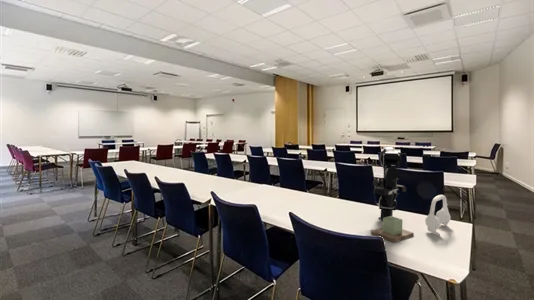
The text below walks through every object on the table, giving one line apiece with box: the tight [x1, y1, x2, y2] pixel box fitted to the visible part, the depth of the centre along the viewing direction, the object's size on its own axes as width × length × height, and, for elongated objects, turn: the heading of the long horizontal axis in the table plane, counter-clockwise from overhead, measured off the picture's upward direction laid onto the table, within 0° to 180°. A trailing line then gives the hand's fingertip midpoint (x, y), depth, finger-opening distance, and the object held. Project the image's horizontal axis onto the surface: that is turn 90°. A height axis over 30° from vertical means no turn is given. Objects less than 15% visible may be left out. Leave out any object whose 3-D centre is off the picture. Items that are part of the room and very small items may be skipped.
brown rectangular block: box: [370, 227, 415, 243], centre depth 130 cm, size 16×12×7 cm
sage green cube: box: [382, 215, 403, 235], centre depth 129 cm, size 6×6×7 cm
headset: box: [425, 194, 452, 236], centre depth 137 cm, size 20×7×18 cm, turn 129°
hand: (389, 206), depth 137 cm, fingers closed
